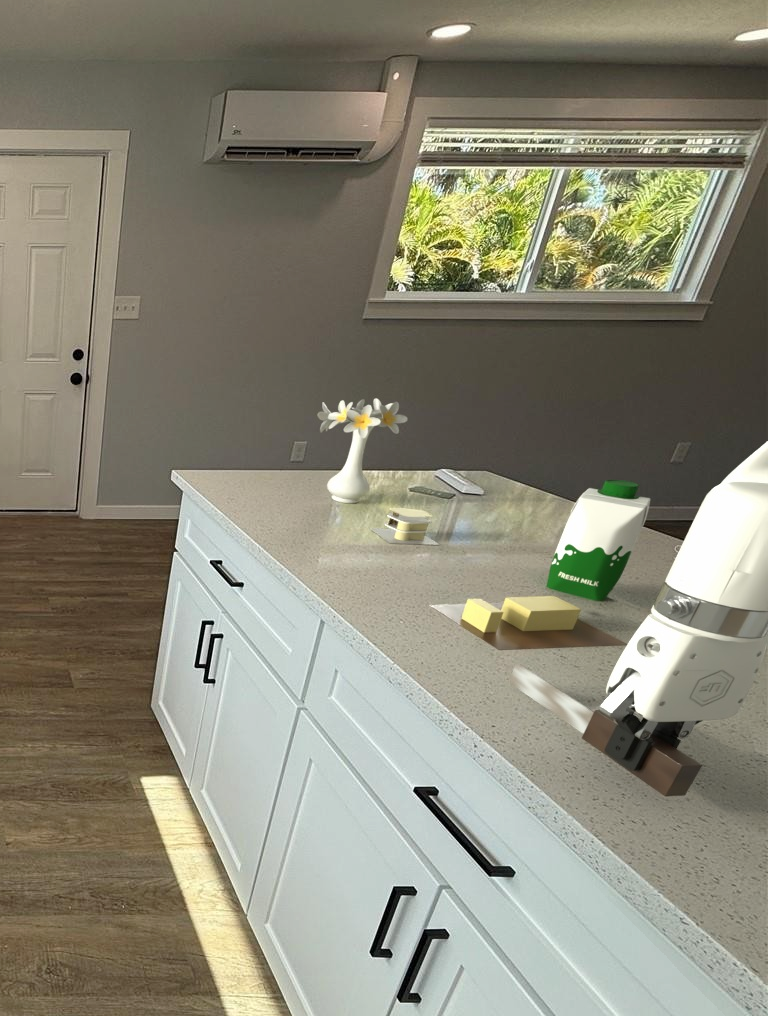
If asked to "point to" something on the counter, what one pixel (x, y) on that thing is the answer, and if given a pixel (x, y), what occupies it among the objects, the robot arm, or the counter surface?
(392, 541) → the stacked layers on plate
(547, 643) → the cutting board
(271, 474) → the counter surface
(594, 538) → the milk carton
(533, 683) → the knife
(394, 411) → the flower vase
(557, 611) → the butter stick
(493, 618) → the butter pat
